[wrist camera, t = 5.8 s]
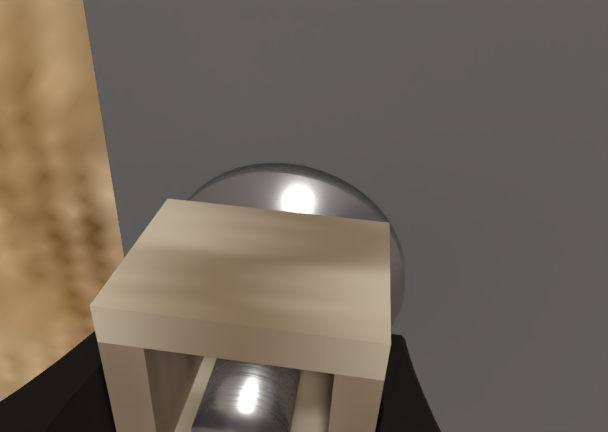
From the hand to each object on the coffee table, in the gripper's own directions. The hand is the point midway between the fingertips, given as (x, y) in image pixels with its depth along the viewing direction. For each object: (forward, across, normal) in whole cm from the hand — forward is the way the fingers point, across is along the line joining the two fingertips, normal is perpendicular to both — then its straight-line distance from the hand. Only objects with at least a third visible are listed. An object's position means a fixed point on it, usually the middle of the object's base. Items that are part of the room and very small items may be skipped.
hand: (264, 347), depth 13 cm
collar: (+2, 0, 0) cm, 2 cm away
